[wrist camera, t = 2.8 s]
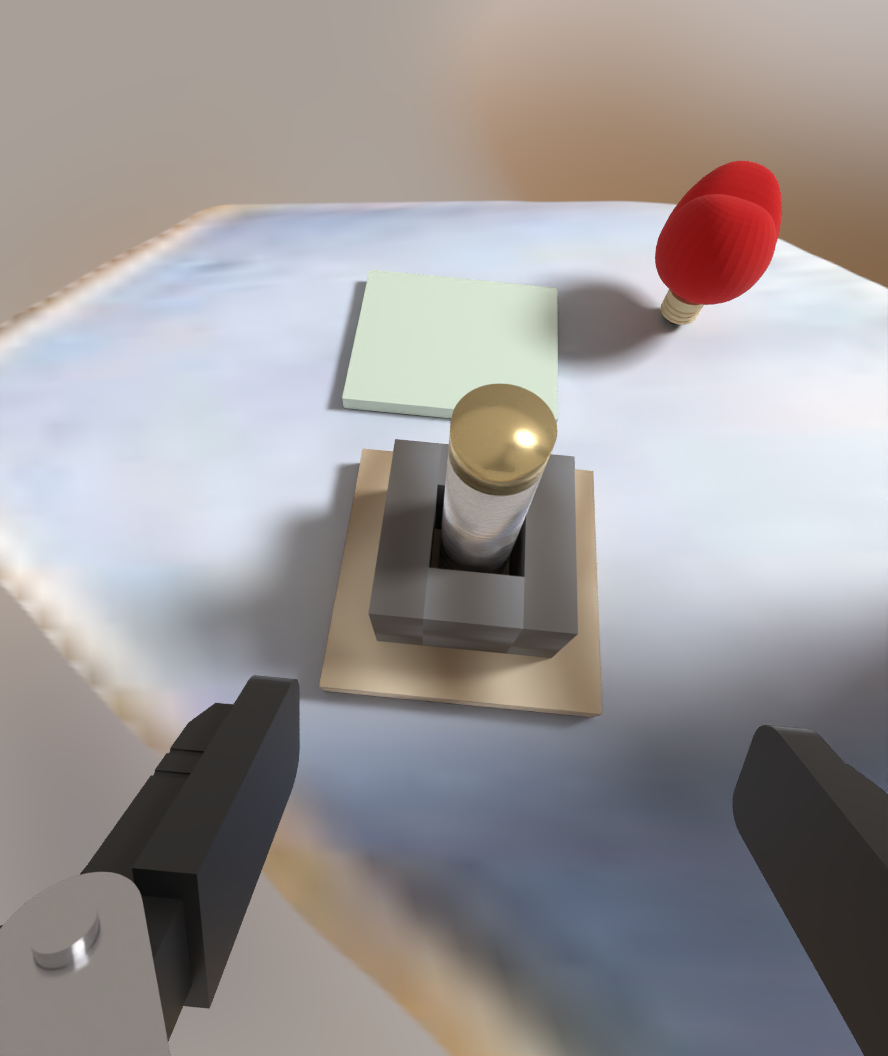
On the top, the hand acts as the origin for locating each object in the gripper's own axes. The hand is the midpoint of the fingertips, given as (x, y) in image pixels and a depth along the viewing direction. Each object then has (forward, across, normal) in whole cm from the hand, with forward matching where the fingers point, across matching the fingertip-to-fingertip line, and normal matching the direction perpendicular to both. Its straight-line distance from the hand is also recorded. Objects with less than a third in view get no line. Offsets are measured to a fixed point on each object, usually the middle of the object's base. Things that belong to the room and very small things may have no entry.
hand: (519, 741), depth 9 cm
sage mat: (+32, +2, -6) cm, 33 cm away
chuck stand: (+20, 0, +6) cm, 21 cm away
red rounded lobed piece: (+36, -14, -9) cm, 40 cm away
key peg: (+19, 0, +5) cm, 20 cm away
